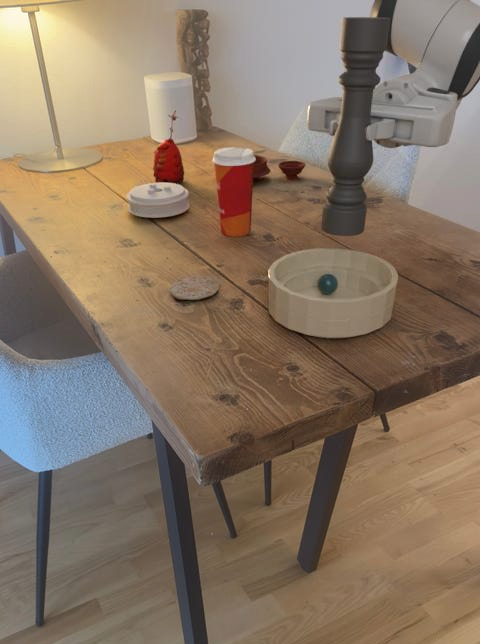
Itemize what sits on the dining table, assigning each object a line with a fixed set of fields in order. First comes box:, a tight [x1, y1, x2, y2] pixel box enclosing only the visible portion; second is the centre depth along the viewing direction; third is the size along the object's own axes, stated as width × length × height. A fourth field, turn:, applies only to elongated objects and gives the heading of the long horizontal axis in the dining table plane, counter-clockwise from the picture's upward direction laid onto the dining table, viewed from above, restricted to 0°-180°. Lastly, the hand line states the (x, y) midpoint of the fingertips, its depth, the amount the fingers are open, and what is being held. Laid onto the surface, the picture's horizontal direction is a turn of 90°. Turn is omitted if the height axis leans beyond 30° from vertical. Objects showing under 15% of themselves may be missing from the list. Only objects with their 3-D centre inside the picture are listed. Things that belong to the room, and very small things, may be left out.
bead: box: [317, 274, 338, 295], centre depth 83 cm, size 3×3×3 cm
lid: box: [125, 182, 191, 219], centre depth 115 cm, size 13×13×5 cm
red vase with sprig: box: [152, 110, 185, 184], centre depth 129 cm, size 8×7×15 cm
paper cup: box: [211, 146, 256, 237], centre depth 103 cm, size 8×8×14 cm
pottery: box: [253, 154, 307, 183], centre depth 132 cm, size 12×20×4 cm, turn 94°
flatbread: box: [169, 275, 220, 301], centre depth 87 cm, size 8×8×1 cm
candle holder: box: [320, 16, 390, 237], centre depth 75 cm, size 6×6×25 cm
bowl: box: [267, 247, 399, 339], centre depth 80 cm, size 18×18×6 cm
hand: (349, 131), depth 74 cm, fingers closed on candle holder, 3 cm apart
